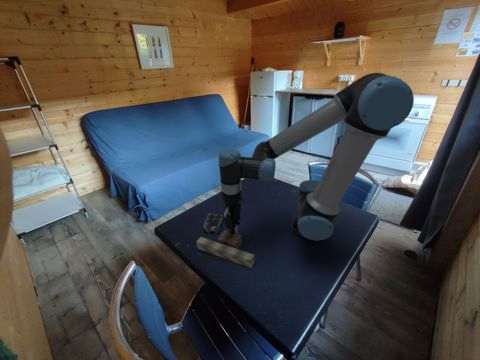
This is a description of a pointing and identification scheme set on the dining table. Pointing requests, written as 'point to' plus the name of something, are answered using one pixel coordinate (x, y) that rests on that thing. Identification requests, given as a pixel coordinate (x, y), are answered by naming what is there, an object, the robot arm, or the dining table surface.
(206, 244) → the board
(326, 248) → the dining table surface
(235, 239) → the block
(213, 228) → the egg carton
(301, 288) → the dining table surface
